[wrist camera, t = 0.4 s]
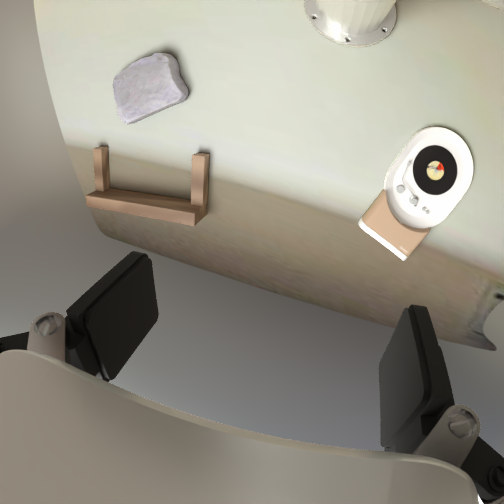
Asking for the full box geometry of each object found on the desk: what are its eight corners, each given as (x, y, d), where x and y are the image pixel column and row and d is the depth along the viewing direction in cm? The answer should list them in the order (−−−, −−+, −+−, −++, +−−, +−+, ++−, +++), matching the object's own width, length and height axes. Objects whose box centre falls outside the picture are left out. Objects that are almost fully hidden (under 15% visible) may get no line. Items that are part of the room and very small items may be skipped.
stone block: (124, 79, 44) (133, 129, 45) (107, 74, 39) (115, 127, 41) (182, 50, 40) (194, 102, 42) (167, 40, 35) (179, 96, 37)
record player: (353, 222, 41) (434, 110, 31) (351, 215, 44) (428, 110, 34) (410, 266, 42) (490, 166, 32) (407, 257, 44) (481, 161, 34)
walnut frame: (100, 146, 48) (82, 152, 44) (209, 153, 45) (196, 160, 40) (103, 197, 53) (86, 206, 49) (206, 214, 50) (194, 225, 45)
